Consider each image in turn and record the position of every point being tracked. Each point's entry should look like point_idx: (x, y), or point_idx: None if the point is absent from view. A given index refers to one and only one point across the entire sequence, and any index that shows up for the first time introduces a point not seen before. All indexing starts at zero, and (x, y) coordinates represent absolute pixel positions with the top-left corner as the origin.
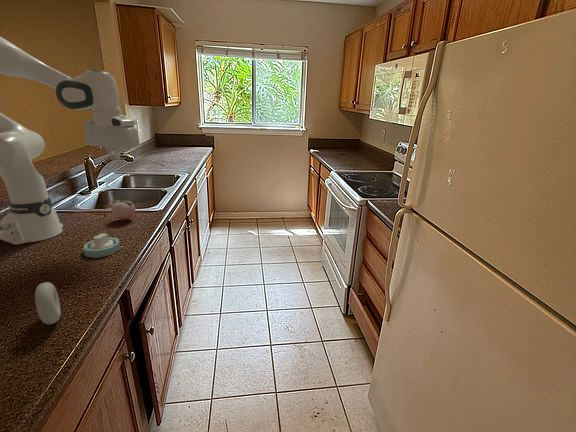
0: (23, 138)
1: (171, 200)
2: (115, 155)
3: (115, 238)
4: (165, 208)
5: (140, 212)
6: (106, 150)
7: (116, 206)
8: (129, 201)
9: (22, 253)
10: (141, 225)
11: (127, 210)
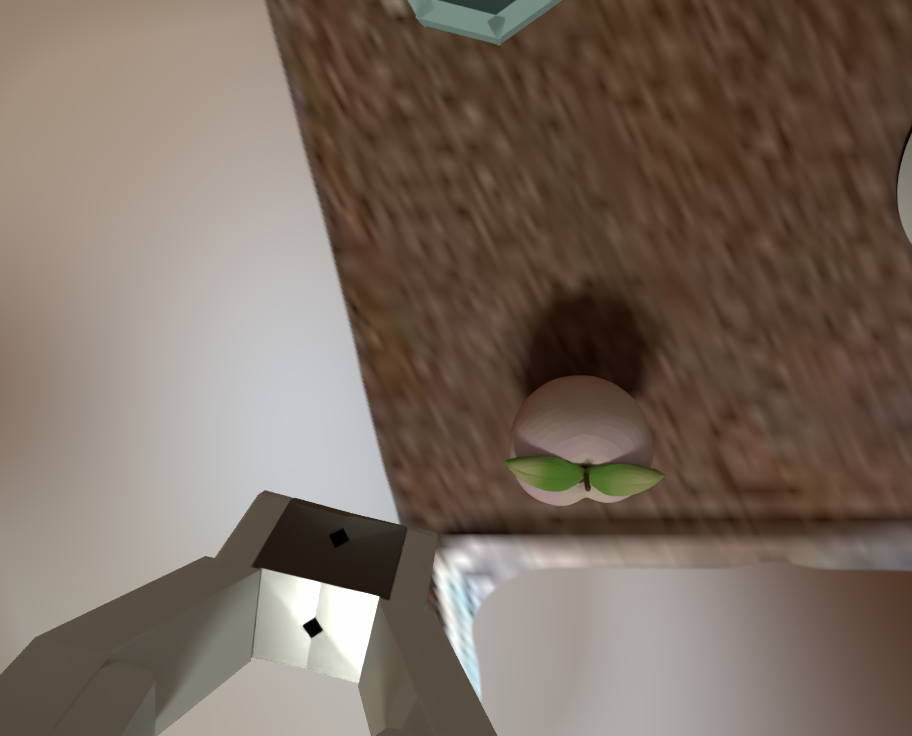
0: None
1: None
2: (243, 552)
3: (436, 16)
4: None
5: (537, 520)
6: (486, 725)
7: (601, 415)
8: (532, 477)
9: None
10: (439, 335)
11: (528, 405)
